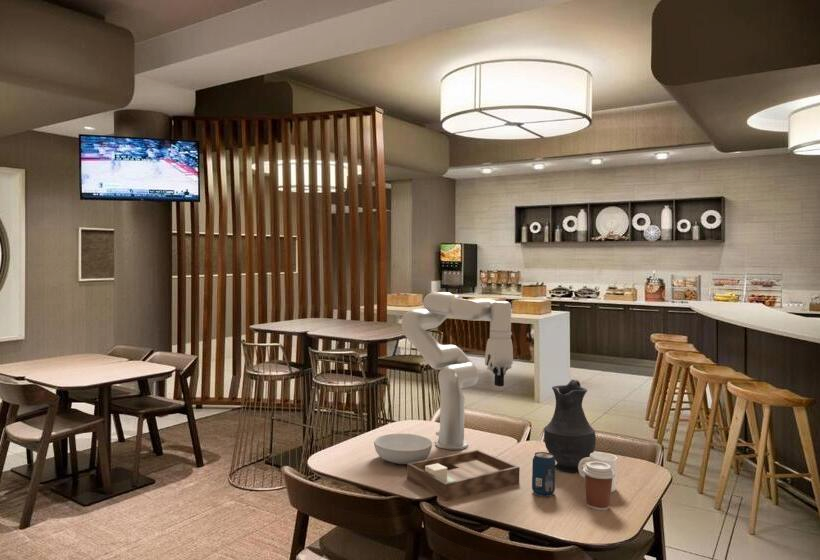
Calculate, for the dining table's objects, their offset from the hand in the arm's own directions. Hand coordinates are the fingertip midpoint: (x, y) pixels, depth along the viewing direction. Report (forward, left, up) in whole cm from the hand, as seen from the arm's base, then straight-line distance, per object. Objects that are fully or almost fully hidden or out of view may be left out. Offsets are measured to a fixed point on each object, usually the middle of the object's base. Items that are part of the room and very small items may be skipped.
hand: (499, 385), depth 209 cm
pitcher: (+19, +17, -27) cm, 37 cm away
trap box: (+10, -24, -27) cm, 38 cm away
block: (+10, -35, -25) cm, 44 cm away
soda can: (+31, -9, -27) cm, 42 cm away
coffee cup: (+46, -2, -27) cm, 54 cm away
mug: (+36, +10, -27) cm, 46 cm away
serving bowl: (-17, -30, -27) cm, 44 cm away
